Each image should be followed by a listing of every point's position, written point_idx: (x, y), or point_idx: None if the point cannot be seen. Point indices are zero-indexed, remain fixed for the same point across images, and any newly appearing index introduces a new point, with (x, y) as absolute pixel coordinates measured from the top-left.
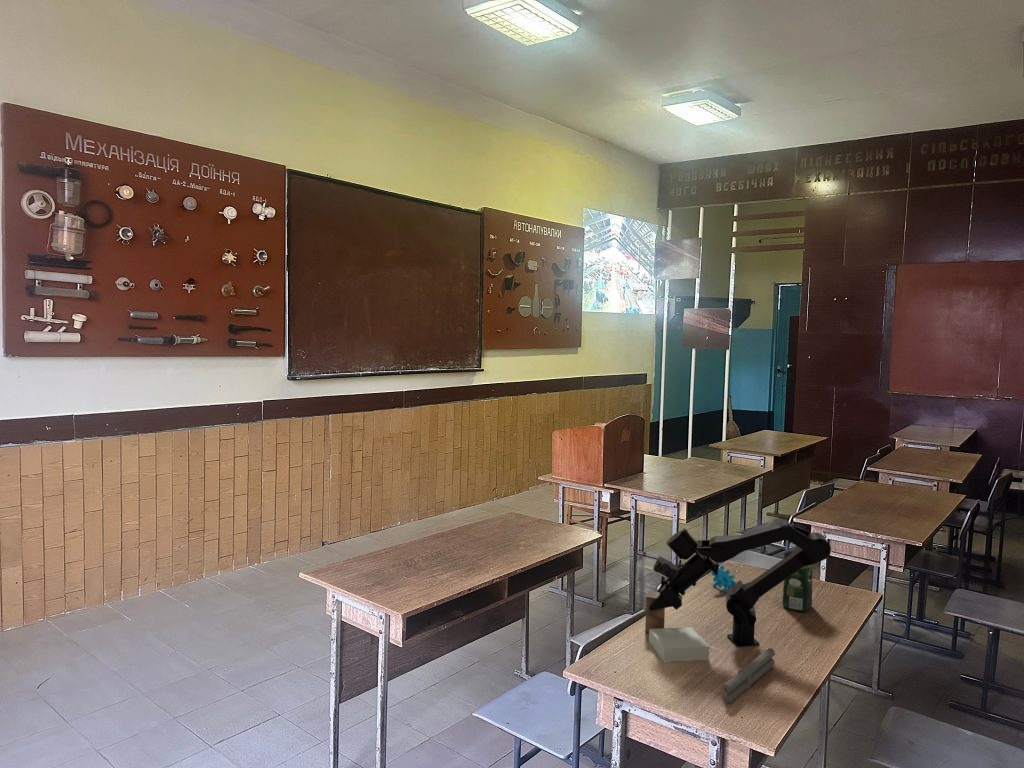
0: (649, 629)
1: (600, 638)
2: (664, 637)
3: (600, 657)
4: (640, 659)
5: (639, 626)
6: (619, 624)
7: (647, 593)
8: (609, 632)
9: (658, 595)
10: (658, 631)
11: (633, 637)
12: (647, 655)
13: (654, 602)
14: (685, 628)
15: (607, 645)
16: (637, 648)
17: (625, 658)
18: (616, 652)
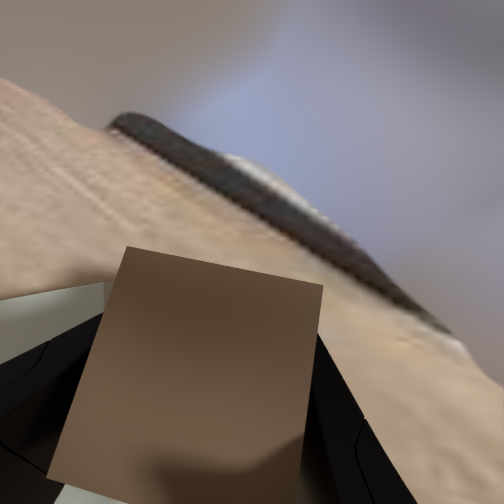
0: (100, 282)
1: (167, 136)
2: (3, 341)
3: (44, 132)
4: (13, 240)
5: (272, 267)
6: (282, 197)
7: (233, 274)
8: (212, 162)
9: (168, 409)
10: (70, 322)
11: (174, 235)
12: (36, 266)
13: (78, 327)
14: (95, 496)
15: (117, 153)
16: (89, 239)
17: (27, 197)
18: (69, 175)
